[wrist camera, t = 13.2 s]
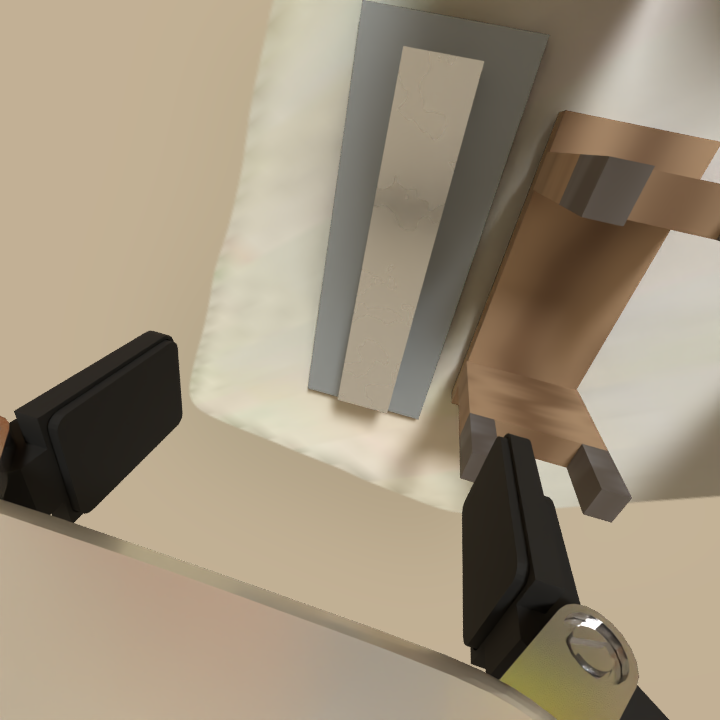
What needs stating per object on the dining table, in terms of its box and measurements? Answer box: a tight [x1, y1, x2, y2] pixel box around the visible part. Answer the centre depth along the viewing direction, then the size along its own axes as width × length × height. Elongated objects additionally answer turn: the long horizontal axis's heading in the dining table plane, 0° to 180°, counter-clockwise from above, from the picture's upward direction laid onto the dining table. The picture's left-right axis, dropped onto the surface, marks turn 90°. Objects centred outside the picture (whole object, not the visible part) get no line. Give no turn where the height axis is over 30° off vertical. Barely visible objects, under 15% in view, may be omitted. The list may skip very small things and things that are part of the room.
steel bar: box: [338, 46, 484, 413], centre depth 26 cm, size 4×22×3 cm, turn 169°
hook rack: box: [452, 110, 720, 522], centre depth 22 cm, size 8×20×12 cm, turn 169°
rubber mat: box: [308, 0, 550, 419], centre depth 27 cm, size 10×26×1 cm, turn 169°
